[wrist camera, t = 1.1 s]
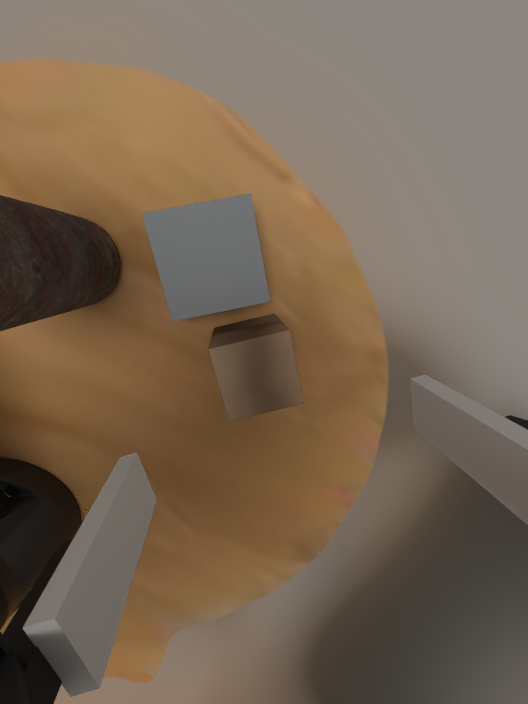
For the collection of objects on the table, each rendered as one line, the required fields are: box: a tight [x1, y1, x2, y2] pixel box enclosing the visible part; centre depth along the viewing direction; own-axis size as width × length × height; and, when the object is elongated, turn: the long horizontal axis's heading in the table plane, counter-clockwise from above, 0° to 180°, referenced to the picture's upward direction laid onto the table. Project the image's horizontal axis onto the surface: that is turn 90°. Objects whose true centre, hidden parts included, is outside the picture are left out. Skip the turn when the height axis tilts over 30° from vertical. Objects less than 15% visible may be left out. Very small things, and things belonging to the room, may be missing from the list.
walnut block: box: [208, 314, 304, 422], centre depth 26 cm, size 6×6×8 cm
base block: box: [142, 194, 270, 322], centre depth 25 cm, size 8×8×5 cm
